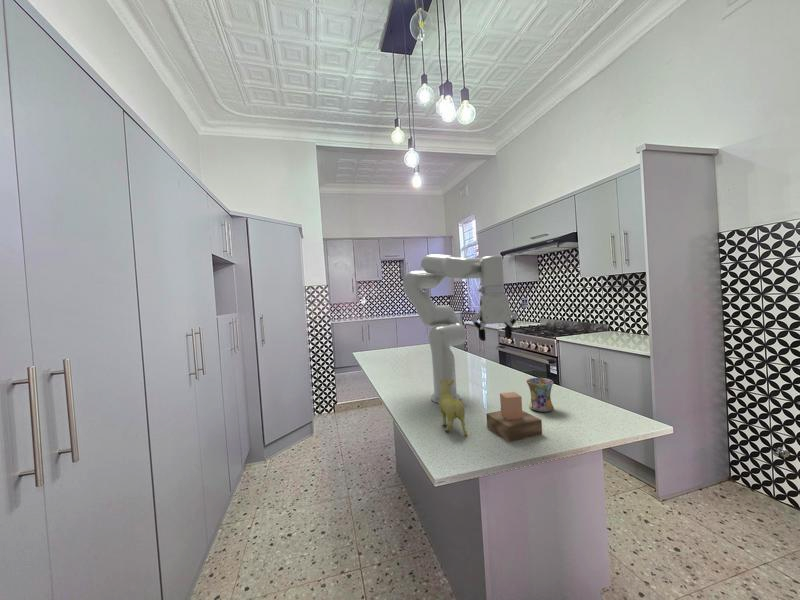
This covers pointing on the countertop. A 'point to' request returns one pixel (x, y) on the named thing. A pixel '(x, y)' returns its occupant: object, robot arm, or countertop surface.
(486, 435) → the countertop surface
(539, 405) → the mug
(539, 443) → the countertop surface
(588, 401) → the countertop surface
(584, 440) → the countertop surface
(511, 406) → the terracotta block
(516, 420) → the walnut box
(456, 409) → the toy
